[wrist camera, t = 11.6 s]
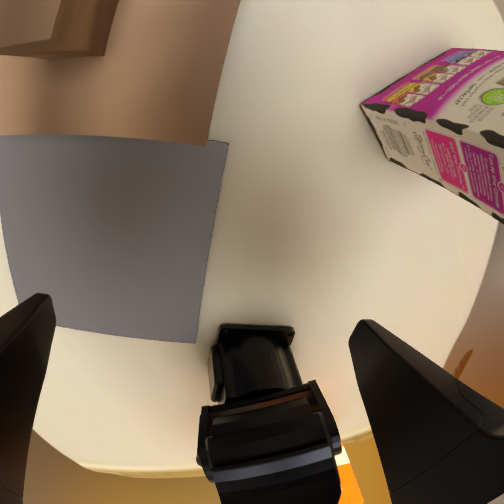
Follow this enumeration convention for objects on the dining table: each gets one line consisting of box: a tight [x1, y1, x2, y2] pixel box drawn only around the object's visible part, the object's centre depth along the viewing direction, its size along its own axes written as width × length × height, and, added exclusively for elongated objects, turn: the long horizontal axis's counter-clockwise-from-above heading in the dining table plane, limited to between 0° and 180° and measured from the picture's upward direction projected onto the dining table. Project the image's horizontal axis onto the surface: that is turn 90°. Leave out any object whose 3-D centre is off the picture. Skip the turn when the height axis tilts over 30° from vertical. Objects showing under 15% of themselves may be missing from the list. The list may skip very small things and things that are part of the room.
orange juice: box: [335, 442, 364, 504], centre depth 27 cm, size 8×9×20 cm
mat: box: [0, 134, 229, 344], centre depth 18 cm, size 16×16×1 cm
